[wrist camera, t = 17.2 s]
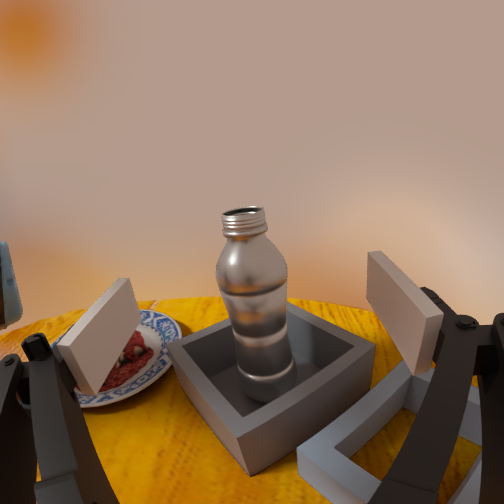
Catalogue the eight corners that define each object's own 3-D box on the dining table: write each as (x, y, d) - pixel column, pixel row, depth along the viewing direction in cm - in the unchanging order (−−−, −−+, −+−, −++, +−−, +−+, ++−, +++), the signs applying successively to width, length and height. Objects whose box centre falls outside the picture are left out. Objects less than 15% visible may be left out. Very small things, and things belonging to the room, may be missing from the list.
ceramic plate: (220, 352, 41) (216, 335, 40) (68, 446, 23) (55, 431, 22) (138, 306, 58) (134, 294, 57) (32, 358, 40) (26, 345, 39)
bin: (181, 387, 34) (165, 344, 32) (282, 338, 41) (277, 296, 39) (250, 477, 21) (236, 438, 18) (369, 392, 28) (375, 344, 26)
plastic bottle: (257, 419, 27) (219, 226, 20) (232, 382, 33) (195, 214, 26) (310, 394, 29) (298, 207, 23) (279, 363, 35) (259, 200, 29)
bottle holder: (298, 474, 20) (296, 447, 19) (398, 388, 28) (405, 356, 26) (420, 562, 8) (445, 550, 6) (504, 439, 15) (525, 407, 14)
